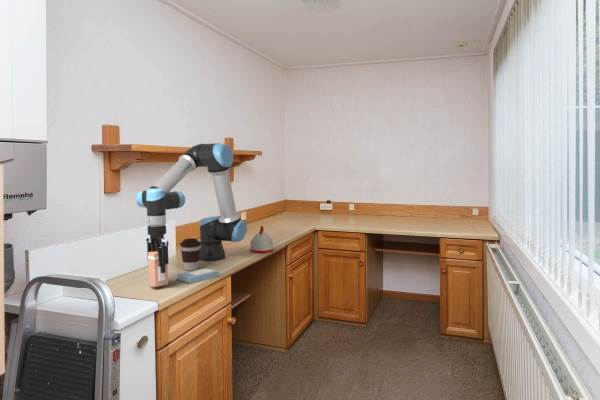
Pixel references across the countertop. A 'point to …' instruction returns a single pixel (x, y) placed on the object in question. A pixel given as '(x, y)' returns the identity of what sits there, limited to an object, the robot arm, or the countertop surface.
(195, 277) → the board
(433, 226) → the countertop surface
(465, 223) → the countertop surface
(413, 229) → the countertop surface
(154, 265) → the pink rectangular box
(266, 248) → the grey dome
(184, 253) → the coffee cup
